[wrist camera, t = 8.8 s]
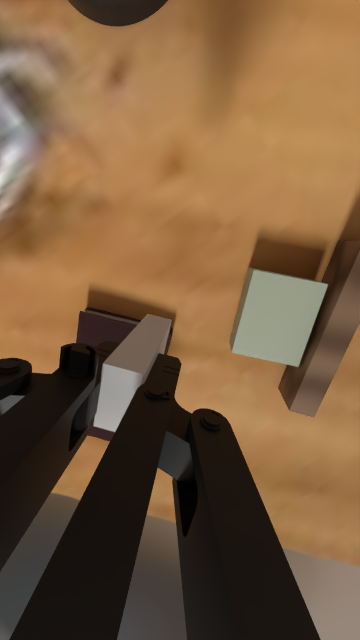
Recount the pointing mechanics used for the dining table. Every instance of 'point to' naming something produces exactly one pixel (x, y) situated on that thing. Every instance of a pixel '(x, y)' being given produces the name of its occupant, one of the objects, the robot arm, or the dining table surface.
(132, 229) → the dining table surface
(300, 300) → the block
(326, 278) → the board
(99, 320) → the book
